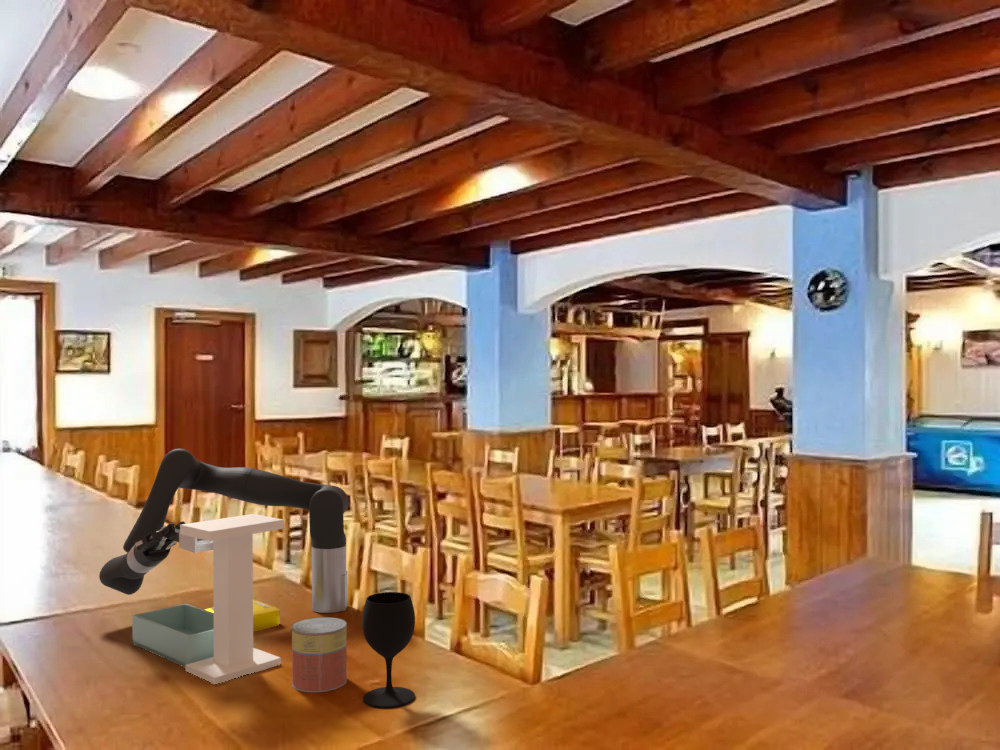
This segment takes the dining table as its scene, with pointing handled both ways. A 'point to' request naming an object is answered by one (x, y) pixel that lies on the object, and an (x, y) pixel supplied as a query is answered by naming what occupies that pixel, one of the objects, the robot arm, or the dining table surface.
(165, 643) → the bin
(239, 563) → the white i-beam pedestal
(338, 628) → the canned food
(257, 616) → the element tile
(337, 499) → the robot arm
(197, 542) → the brushed metal dustpan
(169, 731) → the dining table surface
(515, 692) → the dining table surface
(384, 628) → the wine glass
